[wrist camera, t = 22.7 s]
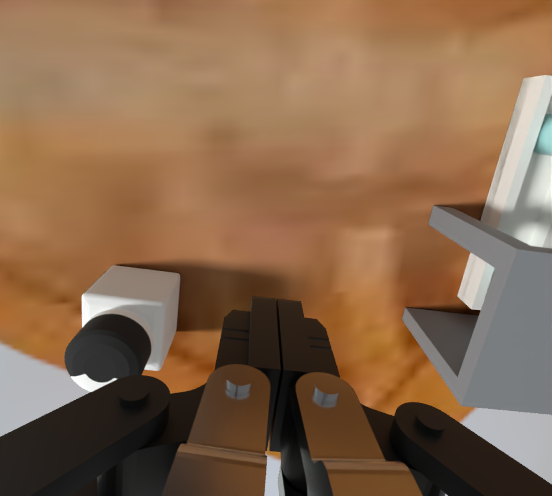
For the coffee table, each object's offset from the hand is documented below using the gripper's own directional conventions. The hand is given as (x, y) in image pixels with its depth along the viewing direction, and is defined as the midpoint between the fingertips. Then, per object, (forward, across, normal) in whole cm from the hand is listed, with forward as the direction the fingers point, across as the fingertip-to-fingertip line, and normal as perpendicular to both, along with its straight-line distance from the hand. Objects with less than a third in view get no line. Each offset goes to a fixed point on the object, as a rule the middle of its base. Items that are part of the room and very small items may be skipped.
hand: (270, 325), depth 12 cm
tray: (+27, -25, -2) cm, 37 cm away
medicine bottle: (+27, +11, +14) cm, 33 cm away
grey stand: (+27, -25, +6) cm, 37 cm away
